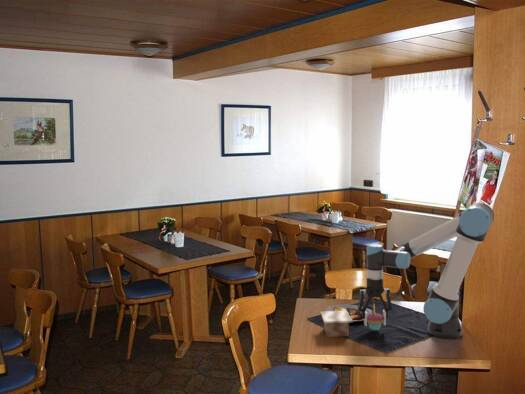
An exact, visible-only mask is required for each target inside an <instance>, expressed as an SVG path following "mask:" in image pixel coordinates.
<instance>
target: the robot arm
mask: <svg viewBox="0 0 525 394" xmlns="http://www.w3.org/2000/svg"><path fill="white" fill-rule="evenodd" d="M494 219H495V213H494V210H493V209H492V207H491V206H490V205H488V204H486V203H483V202H475V203H472V204H470V205H469V206H468V207H467V208H465V209H464V210H461V212H459V213H457V216H455V217H454V218H452V219H450V220H448V221H446V222H445V223H442V224H440V225H438V226H436V227H434V228H432V229H431V230H430V229H429V230H428V231H427V232H424V233H423V234H421V235H419V236H417V237H415V238H412V239H411V240H409V241H407V242H405V243H402V244H401V245H399V246H398V247H397V248H395V249H394V250H390V249H389V250H387V249H384V246H383V244H379V243H372V244H368V245H367V246H366V255H365V256H366V258H365V259H366V287H365V288H364V289H359V294H360V295H359V301H358V310H359V311H362V313H361V314H362V318H363V319H364V321H363V324H364V326H365V327H367V326H368V322H367V312H366V309H367V308H368V306H369V304H370V302H371V300H372V299H373V298H378V299H379V301H380V304H381V305H382V307H383V309H382V316H383V317H384V322H383V323H382V325H384V326H387V319H388V318H389V311H392V310H393V306H392V301H391V296H390V293H391V290H390V288H388V287H387V288H384V278H383V277H384V267H388V268H395V269H408V268H409V267H410V265H411V259H413V258H416V257H417V256H419V255H421V254H424V253H426V252H428V251H430V250H431V249H434V248H436V247H439V246H440V245H442V244H443V243H446V242H448V241H450V240H452V239H454V238H456V239H455V242H454V244H453V246H452V249H451V251H450V254H449V256H448V259H447V261H446V264H445V266H444V268H443V271H442V272H441V276H440V279H439V280H438V282H436V283H433V284H432V288H431V290H430V293H429V295H428V298H427V300H425V302H424V304H423V313H424V316H425V317H426V318H427V320H429V321H428V323H427V324H428V325H427V332H428V334H430V335H431V336H434V337H436V338H439V339H448V340H452V339H459V338H460V337H462V336H463V328H462V326H461V325H462V324H461V321H460V319H459V315H460V314H459V313H460V309H459V308H460V294H461V292H460V287H461V285H462V282H463V281H464V278H465V276H466V273H467V271H468V269H469V266H470V264H471V261H472V258H473V257H474V255H475V253H476V250H477V247H478V245H479V244H481V243H484V241H485V239H486V237H487V234H488V232H489V230H490V229H491V228H490V227H491V226H492V224H493V222H494ZM383 293H385V298H386V302H385V300H384V298H383V296H382V294H383ZM366 294H367V296H366V299H365V295H366ZM364 299H365V301H364ZM386 303H387V304H386Z"/></svg>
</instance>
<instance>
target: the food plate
mask: <svg viewBox="0 0 525 394" xmlns="http://www.w3.org/2000/svg"><path fill="white" fill-rule="evenodd" d="M358 305H359V304H358ZM358 305H357V304H346V303H345V304H335V305H331V306H328V307H327V308H326V309H325V311H348V313H349V314H350V315H351V316H350V317H351V318H352V320H353V322H352V323H354V322H364V319H363V318H362V311H359V310H358ZM358 311H359V312H358ZM366 312H367V316H368V315H369V314H371V313H373V310H372V309H370V308H368V307H367V309H366ZM355 314H358V315H355Z"/></svg>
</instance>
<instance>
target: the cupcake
mask: <svg viewBox="0 0 525 394" xmlns="http://www.w3.org/2000/svg"><path fill="white" fill-rule="evenodd" d="M372 306H373V307H372V309H373V312H372V313H371V314H369V315H368V316H367V325H368V326H369V327H368V328H369V329H370V330H371V331H379V330H380V329H381V327H382V325H383V322H384V317H383V314H380V313H376V305H375V303H372Z"/></svg>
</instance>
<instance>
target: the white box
mask: <svg viewBox="0 0 525 394" xmlns="http://www.w3.org/2000/svg"><path fill="white" fill-rule="evenodd" d="M319 313H320V316H321V319H322V320H323V330H324V332H325V335H326V337H327V338H331V337H332V338H333V337H338V336H340V337H350V336H349V335H350V330H349V329H350V326H349V325H350V323H354V322H353V320H352V318H351V317H350V315H349V314H350V313H349V310H347V311H326V310H324V311H319Z"/></svg>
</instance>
